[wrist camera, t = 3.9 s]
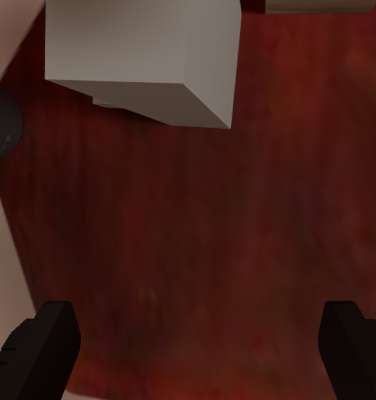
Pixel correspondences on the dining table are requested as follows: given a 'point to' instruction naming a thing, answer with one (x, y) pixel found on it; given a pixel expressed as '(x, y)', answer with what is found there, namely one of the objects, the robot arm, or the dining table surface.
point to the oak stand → (318, 6)
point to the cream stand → (148, 55)
